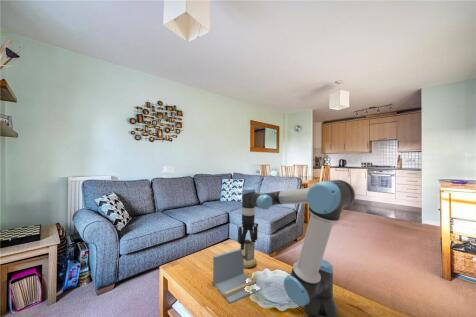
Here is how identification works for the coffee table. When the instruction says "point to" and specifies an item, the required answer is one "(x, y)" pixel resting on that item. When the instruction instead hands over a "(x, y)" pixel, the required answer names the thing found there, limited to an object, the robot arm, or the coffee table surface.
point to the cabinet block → (248, 250)
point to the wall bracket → (230, 276)
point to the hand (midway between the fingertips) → (247, 253)
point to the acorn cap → (249, 263)
